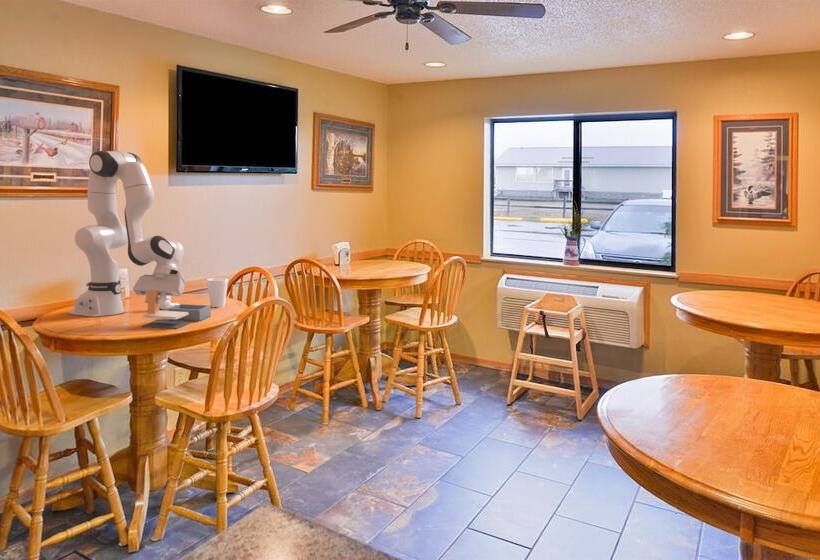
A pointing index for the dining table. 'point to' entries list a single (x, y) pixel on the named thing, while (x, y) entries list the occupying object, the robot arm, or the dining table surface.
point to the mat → (166, 324)
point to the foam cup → (217, 291)
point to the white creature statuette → (166, 303)
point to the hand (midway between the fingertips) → (152, 302)
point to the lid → (156, 313)
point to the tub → (192, 311)
